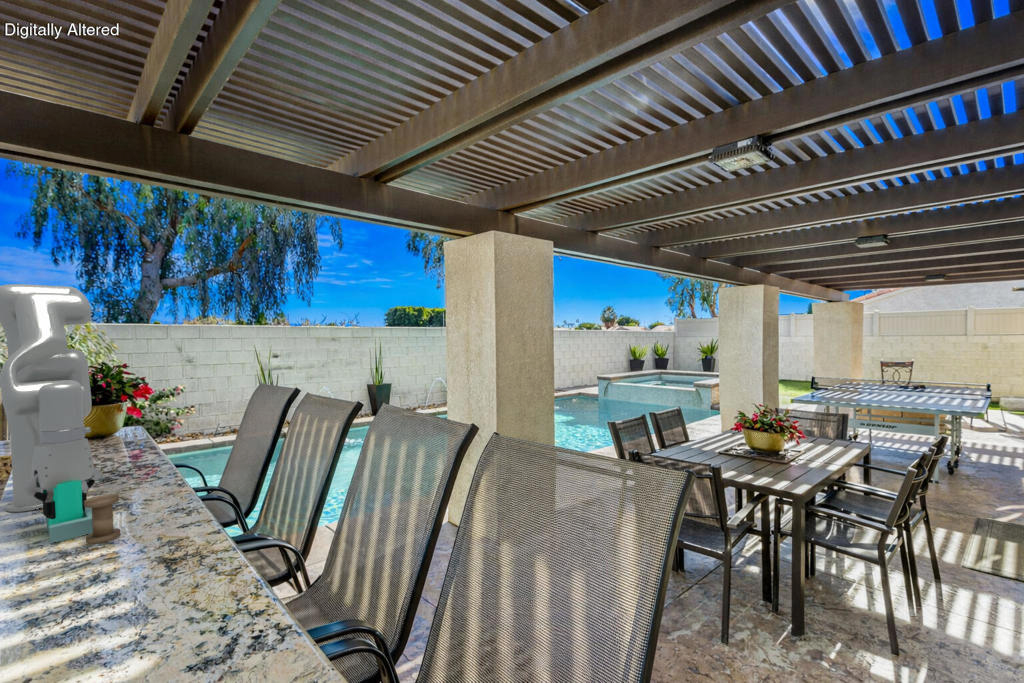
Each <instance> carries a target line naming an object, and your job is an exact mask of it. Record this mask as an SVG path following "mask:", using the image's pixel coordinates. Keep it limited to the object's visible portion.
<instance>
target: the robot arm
mask: <svg viewBox="0 0 1024 683" xmlns="http://www.w3.org/2000/svg"><path fill="white" fill-rule="evenodd" d="M91 308H92V307H91V305H90V301H89V299H88V298H87V296H85V294H84V293H83V292H82V291H80V290H79V289H78V288H76V287H73V286H67V285H66V286H65V285H47V284H45V285H44V284H43V285H42V284H30V283H29V284H26V283H24V284H23V283H18V284H17V283H16V284H15V283H14V284H13V283H10V284H4V285H0V326H1V328H2V329H3V331H4V334H5V338H6V346H7V347H6V348H7V360H6V361H5V362H4V363H3V366H2V367H1V370H0V396H1V403H2V407H3V408H4V413H5V417H6V421H7V425H8V430H9V437H10V438H9V440H10V454H11V456H10V457H11V475H12V476H11V477H12V478H11V479H12V497H13V498H12V499H13V501H10V502H8V503H7V504H6V505H5V506H4V510H5V511H6V512H10V513H18V512H19V513H21V512H29V511H36V510H40V509H39V508H41V509H42V515H43V517H45V519H46V518H49V519H55V518H56V514H55V501H52V500H53V496H54V490H53V488H55V487H57V484H62V483H68V482H73V481H80V480H81V482H82V509H83V510H85V507H84V501H85V500H87V499H88V498H87V493H89V491H90V489H91V488H92V487H93V485H94V484H95V483H96V482H97V481H98V480H100V478H101V477H102V476H103V475H104V474H103V472H101V471H100V470H99V469H98V468H97V467H96V466H94V461H93V460H94V459H93V453H92V449H91V446H90V443H89V439H88V438H87V437H86V434H90V433H91V432H92V429H91V427H90V426H88V427H87V426H85V424H84V418H85V417H87V416H88V415H89V414H90V413H91V411H92V404H93V403H92V392H91V381H90V373H89V366H88V365H89V363H88V360H87V357H86V355H85V354H84V352H82V350H79V349H78V348H77V349H76V348H68V339H67V334H66V329H65V326H66V325H71V326H73V325H74V326H75V325H76V326H77V325H80V326H81V325H85V324H87V323H88V322H89V321H90V320H91V317H92V309H91ZM85 437H86V438H85ZM47 490H48V491H47ZM35 509H36V510H35Z"/></svg>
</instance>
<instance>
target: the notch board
mask: <svg viewBox="0 0 1024 683" xmlns="http://www.w3.org/2000/svg"><path fill="white" fill-rule="evenodd" d="M45 520H46V532H47V531H48V536H49V537H48V538H49V540H48V541H49V544H50V543H51V544H55V543H54V542H56V543H59V541H60V542H64V541H68V540H72V539H75V537H76V538H79V537H78V536H81V537H83V536H82V535H85V536H87V535H86V534H91V533H93V530H92V508H86V507H85V510H83V518H80V519H76V520H71V521H67V522H62V523H58V524H53V525H49V520H48V518H46V517H45Z"/></svg>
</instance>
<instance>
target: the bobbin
mask: <svg viewBox="0 0 1024 683" xmlns="http://www.w3.org/2000/svg"><path fill="white" fill-rule="evenodd" d="M119 501H120V494H119V493H118V494H117V493H111V494H109V493H108V494H102V495H97V496H94V497H90V498H87V500H85V501H84V507H86V508H92V530H93V533H91V534H89V535H85V543H86V544H87V543H88V545H95V544H96V545H97V543H98V544H102V543H106V542H107V543H108V542H110V541H113V540H115V539H117V538H119V537H120V536H121V529H120V528H116V527H115V528H114V508H113V506H114V504H116V503H118V502H119Z"/></svg>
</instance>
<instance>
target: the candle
mask: <svg viewBox="0 0 1024 683" xmlns="http://www.w3.org/2000/svg"><path fill="white" fill-rule="evenodd" d="M53 490H54V496H53V500H52V501H55V514H56V518H55V519H49V518H48V520H49V525H53V524H58V523H62V522H67V521H71V520H76V519H80V518H83V509H82V482H81V480H80V481H73V482H68V483H62V484H57V487H55V488H53ZM47 491H48V490H47Z"/></svg>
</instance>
